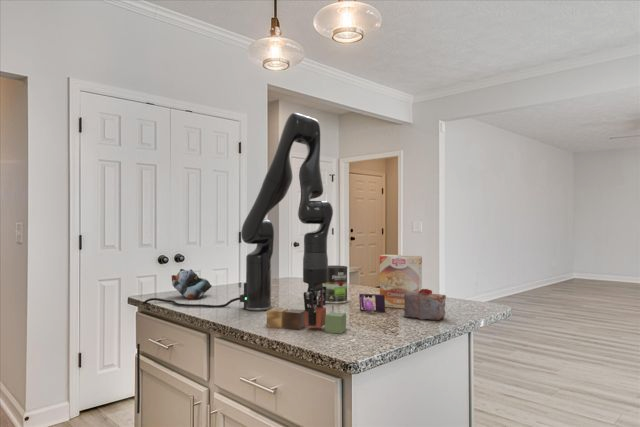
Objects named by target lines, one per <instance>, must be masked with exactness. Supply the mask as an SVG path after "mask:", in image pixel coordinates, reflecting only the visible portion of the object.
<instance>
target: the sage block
mask: <svg viewBox="0 0 640 427" xmlns="http://www.w3.org/2000/svg"><path fill="white" fill-rule="evenodd" d="M346 330H347V313H346V312H336V311H329V312H328V313H326V315H325V325H324V333H330V334H343V333H344V332H346Z"/></svg>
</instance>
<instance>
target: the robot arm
mask: <svg viewBox="0 0 640 427" xmlns="http://www.w3.org/2000/svg"><path fill="white" fill-rule="evenodd" d="M294 143H297V144H301V145H305V146H306V150H307V154H306V157H305V158H304V160H303V161H302V163H301V166H300V168H299V172H298V180H299V187H300V200H299V205H298V210H297V217H298V220H299V221H300V222H301V224H304V225H319V226H318V228H317V229H316V230H313V231H309V232H306V233H305V234H304V235H303V257H302V281H303V283H304V284H307V290H306V291H303V303H304V310H305V311H306V312H308V324H309V325H311V326H315V325H316V308H317V307H325V306H326V303H325V301H326V286H323V283H327V282H328V266H329V257H328V236H329V231H330V227H331V222H332V220H333V216H334V208H333V206H332V204H331V203H330V202H329V201H327V200H315V199H317V198H318V199H319V198H320V197H322V195H323V194H324V183H323V178H322V173H321V172H322V171H321V126H320V123H319V121H318V120H317V119H316V118H313V117H310V116H307V115H304V114H301V113H297V112H292V113H291V114H289V115H288V117H287V119H286V121H285V123H284V126H283V129H282V132H281V134H280V139H279V141H278V144H277V147H276V149H275V153H274V156H273V158H272V161H271V163H270V165H269V167H268V170H267V172H266V174H265V177H264V179H263V180H262V184H261V186H260V189H259V192H258V194H257V196H256V198H255V200H254V202H253V204H252V207H251V209H250V210H249V212H248V214H247V216H246V218H245V219H244V221H243V223H242V226H241V230H240V236H241V240H242V241H243V242H244V243H245V244H248V245H256V247H255V248H254V250H253V251H251V252H250V253H248V254H246V256H245V282H244V283H243V293H242V294H240V295H239V297H235V298H233V299H230V300H229V301H227V302H226V303H224V304H216V305H215V304H214V305H213V304H202V303H201V304H199V303H197V304H194V303H180V302H176V301H175V300H173V299H172V300H171V299H166V298H165V299H164V298H159V297H151V298H147V299H146V300H144V301H143V302H142V304H147V303H149V302H151V301H157V302H163V303H172V304H174V305H175V306H179V307H188V308H189V307H192V308H196V307H197V308H212V309H213V308H224V307H228V306H229V305H230V304H231V303H233V302H236V301H239V302H240V303H243V310H247V311H253V312H255V311H256V312H261V311H267V310H270V309H272V257H273V254H274V243H275V242H274V240H275V229H274V225H273V222H272V221H271V220H270V219H267V218H266V217H267V215H268V214H269V213H270V211H272V210H273V209H274V208H275V207H277V206H278V204H280V202H282V201H283V200H284V198H285V197H286V196H287V194H288V192H289V189H290V187H291V185H292V183H293V177H294V176H293V168H292V165H291V151H292V147H293V145H294ZM310 307H311V308H310ZM140 350H141V344H140V343H137V346H136V352H137V353H136V356H137V357H136V358H137V359H136V376H137V377H136V379H137V380H136V383H137V384H136V386H137V387H136V388H137V389H136V390H137V396H136V398H137V400H136V402H137V403H136V414H137V415H138V414H140V412H141V411H140V410H141V409H140V408H141V372H140V370H141V369H140V368H141V366H140V364H141V362H140V361H141V360H140V356H141V351H140Z"/></svg>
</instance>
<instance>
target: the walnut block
mask: <svg viewBox="0 0 640 427" xmlns="http://www.w3.org/2000/svg"><path fill="white" fill-rule="evenodd" d="M304 328H306V326H305V309H297V308H290V309H288V311H286V312H285V326H284V329H287V330H296V331H297V330H298V331H300V330H302V329H304Z"/></svg>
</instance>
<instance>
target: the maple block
mask: <svg viewBox="0 0 640 427" xmlns="http://www.w3.org/2000/svg"><path fill="white" fill-rule="evenodd" d="M288 310H289V308H285V307H284V308H282V307H271V309H268V310H266V328H275V329H283V328H285V312H286V311H288Z"/></svg>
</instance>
